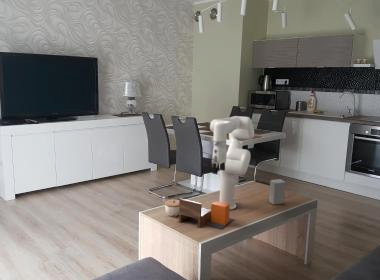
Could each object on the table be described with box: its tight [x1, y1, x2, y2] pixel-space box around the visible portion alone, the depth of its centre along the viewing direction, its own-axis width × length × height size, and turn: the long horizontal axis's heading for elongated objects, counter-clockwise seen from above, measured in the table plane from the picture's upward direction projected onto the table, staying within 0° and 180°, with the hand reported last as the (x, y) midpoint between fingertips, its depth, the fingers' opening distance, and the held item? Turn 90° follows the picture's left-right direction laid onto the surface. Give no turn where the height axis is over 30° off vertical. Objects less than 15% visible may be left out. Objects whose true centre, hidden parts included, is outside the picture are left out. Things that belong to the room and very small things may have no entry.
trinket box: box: [164, 199, 179, 217], centre depth 220 cm, size 11×11×9 cm
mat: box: [205, 217, 234, 230], centre depth 211 cm, size 16×10×1 cm, turn 148°
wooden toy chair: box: [178, 197, 211, 228], centre depth 211 cm, size 14×14×14 cm
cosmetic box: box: [268, 178, 286, 206], centre depth 245 cm, size 8×7×16 cm
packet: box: [210, 200, 231, 226], centre depth 210 cm, size 6×9×11 cm, turn 58°
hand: (218, 171), depth 214 cm, fingers open, 9 cm apart
